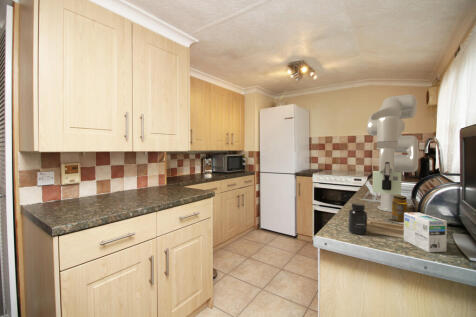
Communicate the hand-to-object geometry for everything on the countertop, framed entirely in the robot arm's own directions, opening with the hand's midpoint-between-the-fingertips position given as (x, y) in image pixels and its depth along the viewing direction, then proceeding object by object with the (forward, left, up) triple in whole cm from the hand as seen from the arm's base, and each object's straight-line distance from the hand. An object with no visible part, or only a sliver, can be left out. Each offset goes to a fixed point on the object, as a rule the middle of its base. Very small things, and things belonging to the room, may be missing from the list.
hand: (386, 188), depth 94 cm
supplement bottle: (+9, -10, -18) cm, 23 cm away
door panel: (0, 0, -2) cm, 2 cm away
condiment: (-18, +6, -18) cm, 26 cm away
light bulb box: (+11, +11, -18) cm, 24 cm away
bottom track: (+3, 0, -18) cm, 18 cm away
